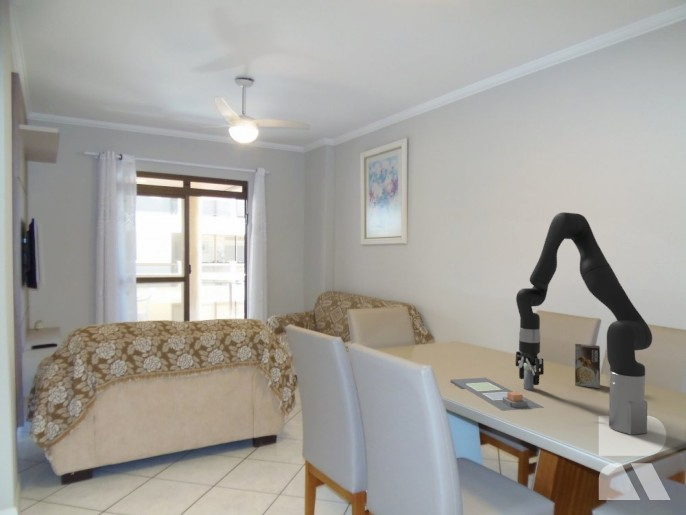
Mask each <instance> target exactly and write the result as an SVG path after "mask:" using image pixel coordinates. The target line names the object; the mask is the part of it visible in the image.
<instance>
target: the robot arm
mask: <svg viewBox="0 0 686 515" xmlns="http://www.w3.org/2000/svg"><path fill="white" fill-rule="evenodd" d="M564 240H572V242H573V244H574V245H575V247H576V249H577V250H578V253H579V259H580V260H579V273H580V277H581V279H582V280H583V282H584V285H585V286H586V288H587V290H588V291H589V293H590V294H591V295H593V297H594V298H596V300H598V301H599V302H600V303H602V304H603V305H604V306H605V307H607V309H608V310H610V312H611V314H613V316H614V317H615V319H616V321H613V322H612V323H610V324H609V326H608V328H607V330H606V354H607V355H606V358H607V362H608V364H609V365H608V366H609V400H608V401H609V403H608V404H609V409H608V410H609V411H608V426H609V428H611V429H612V430H614V431H616V432H620V433H624V434H628V435H630V436H632V435H640V434H647V433H648V403H649V402H647V401H646V400H645V399H646V397H645V396H646V395H645V394H646V389H645V388H646V367H645V365H644V364H643V363H641V362H638V361H637V359H636V351H643V350H646V349H648V348H650V347H651V345H652V343H653V334H652V331H651V329H650V327H649V325H648V323H647V322H646V321H645V319H644V318H643V316H642V315H641V314H640V313H639V311H638V310H637V308H636V307H635V306H634V304H633V303H632V301H631V300H630V298H629V296H628V294H627V293H626V291H625V290H624V288H623V286H622V285H621V283H620V281H619V279H618V277H617V275H616V273H615V272H614V271H613V268H612V266H611V264H610V263H609V262H608V260H607V258H606V257H605V254H604V253H603V251H602V250H601V247H600V245H599V244H598V241H597V240H596V237H595V235H594V232H593V230H592V227H591V225H590V223H589V222H588V220H587V218H586V217H585V216H584V215H583V214H580V213H575V212H559V213H556V215H554V217H553V218H552V220H551V222H550V224H549V228H548V230H547V234H546V237H545V240H544V244H543V247H542V250H541V254H540V256H539V259H538V261H537V262H536V265H535V266H534V268H533V270H532V272H531V274H530V277H529V282H530V284H531V285H532V288H531V287H530V288H528V287H527V288H521V289H519V290H518V292H517V293H516V296H515V300H516V301H515V302H516V306H517V310H518V313H519V317H520V319H519V321H520V323H519V333H518V334H519V335H518V336H519V337H518V338H519V339H518V342H519V343H518V351H516V353H515V367H517V369H518V373H519V374H518V376H519V377H518V379H520V380H524V362H525V363H527V364H528V365H529V368H530V370H532V373H533V385H534V386H539V384H540V376H541V375H542V376H543V375H544V371H545V370H544V369H545V368H544V365H545V364H544V358H539V356H538V354H540V352H541V331H540V330H541V329H540V326H541V325H540V324H541V318H540V315H539V314H538V313H536V312H534V311H533V308H532V307H539V306H541V305H543V303H544V302H545V300H546V298H547V294H548V289H549V284H550V282H551V281H552V279H553V277H554V275H555V274H556V271H557V268H558V250H559V248H560V246H561V244H562V243H563V242H564ZM534 366H535V367H534Z"/></svg>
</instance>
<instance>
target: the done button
mask: <svg viewBox="0 0 686 515" xmlns="http://www.w3.org/2000/svg"><path fill="white" fill-rule="evenodd" d="M523 397H524V395H523V394H522V393H520V392H518V391H513V392H507V399H508V400H510V401H512V402H520V401H523Z"/></svg>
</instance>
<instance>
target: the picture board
mask: <svg viewBox="0 0 686 515" xmlns="http://www.w3.org/2000/svg"><path fill="white" fill-rule="evenodd" d="M450 383H452V384H453V385H454V384H455V385H454V386H456V387H458V388H459V389H461V390H467V391H468V392H470V393H471V394H473V395H475V396H477V397H479V398H480V399H482V400H483V401H485V402H487V403H489V404H490V405H492V406H493V407H494V408H495V407H496V408H497V409H499V410H500V411H502V412H504V411H515V410H516V411H517V410H528V409H529V410H530V409H531V410H532V409H542V408H545V407H544V406H542V405H540V404H538V403H537V402H535V401H533V400H531V399H529V398H527V397H524V396H523V401H520V402H512V401H510V400H508V399H507V392H514V391H513V390H511V389H509V388H507V387H505V386H504V385H501V384H499V383H497V382H495V381H494V380H491V379H489V378H487V377H475V378H473V377H472V378H457V379H450Z"/></svg>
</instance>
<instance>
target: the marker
mask: <svg viewBox="0 0 686 515" xmlns="http://www.w3.org/2000/svg"><path fill="white" fill-rule="evenodd" d="M534 367H536V366H534ZM523 389H524V390H526V391H535V385H533V373H532V370H530V368H529V365H528V364H527V363H525V362H524V379H523Z"/></svg>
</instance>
